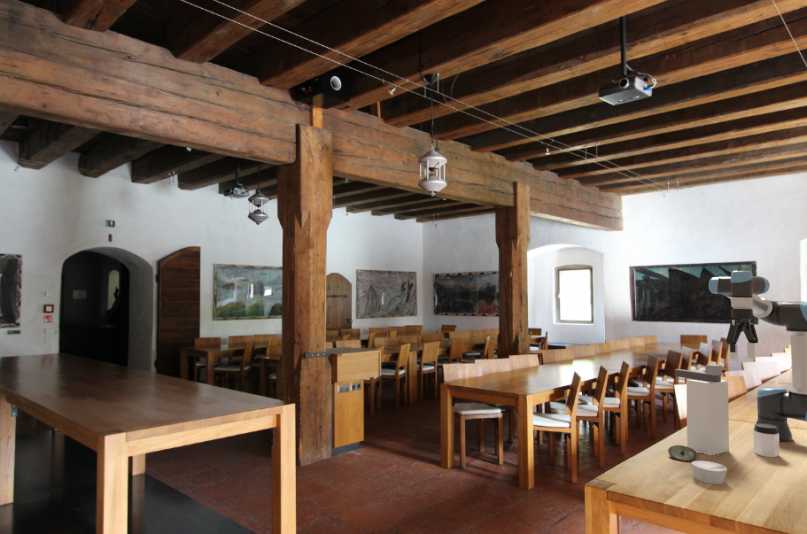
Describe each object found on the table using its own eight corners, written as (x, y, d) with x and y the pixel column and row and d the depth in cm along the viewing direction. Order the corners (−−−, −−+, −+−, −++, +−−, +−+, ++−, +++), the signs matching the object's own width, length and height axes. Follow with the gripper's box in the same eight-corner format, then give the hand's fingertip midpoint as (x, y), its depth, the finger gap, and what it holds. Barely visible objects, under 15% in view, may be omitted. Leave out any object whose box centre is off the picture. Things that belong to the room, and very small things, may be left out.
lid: (696, 456, 218) (696, 444, 219) (698, 463, 209) (698, 451, 210) (667, 453, 223) (667, 441, 223) (668, 459, 214) (668, 447, 214)
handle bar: (679, 375, 242) (679, 360, 242) (722, 381, 226) (721, 365, 226) (673, 376, 239) (673, 360, 240) (715, 382, 223) (715, 366, 223)
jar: (772, 458, 217) (772, 429, 217) (751, 453, 224) (750, 425, 224) (782, 455, 222) (781, 426, 222) (760, 450, 229) (760, 422, 229)
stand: (705, 445, 235) (705, 377, 236) (729, 451, 226) (728, 381, 228) (687, 449, 228) (686, 379, 229) (710, 456, 219) (709, 383, 221)
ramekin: (727, 488, 183) (726, 472, 184) (690, 481, 189) (690, 466, 190) (727, 478, 193) (727, 464, 193) (692, 472, 199) (692, 458, 199)
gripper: (747, 307, 228) (748, 356, 227) (716, 307, 215) (716, 360, 214) (767, 308, 221) (768, 358, 220) (735, 308, 209) (736, 362, 208)
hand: (742, 359), depth 217 cm, fingers open, 13 cm apart
